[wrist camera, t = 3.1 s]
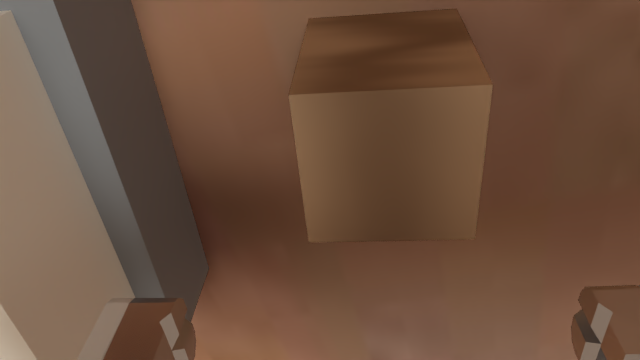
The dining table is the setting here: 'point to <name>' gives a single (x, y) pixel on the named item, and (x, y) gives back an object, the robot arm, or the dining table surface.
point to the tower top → (45, 223)
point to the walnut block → (390, 127)
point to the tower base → (118, 138)
